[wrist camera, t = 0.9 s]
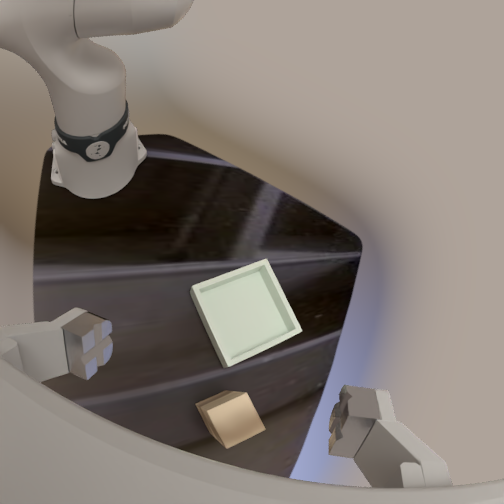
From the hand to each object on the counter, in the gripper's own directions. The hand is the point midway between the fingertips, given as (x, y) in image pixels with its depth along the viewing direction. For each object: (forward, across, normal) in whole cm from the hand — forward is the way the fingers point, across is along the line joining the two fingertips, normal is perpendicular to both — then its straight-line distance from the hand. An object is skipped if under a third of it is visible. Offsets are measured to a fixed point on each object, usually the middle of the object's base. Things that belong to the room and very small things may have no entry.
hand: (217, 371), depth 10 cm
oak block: (+26, +4, +28) cm, 38 cm away
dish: (+36, +5, +16) cm, 40 cm away
